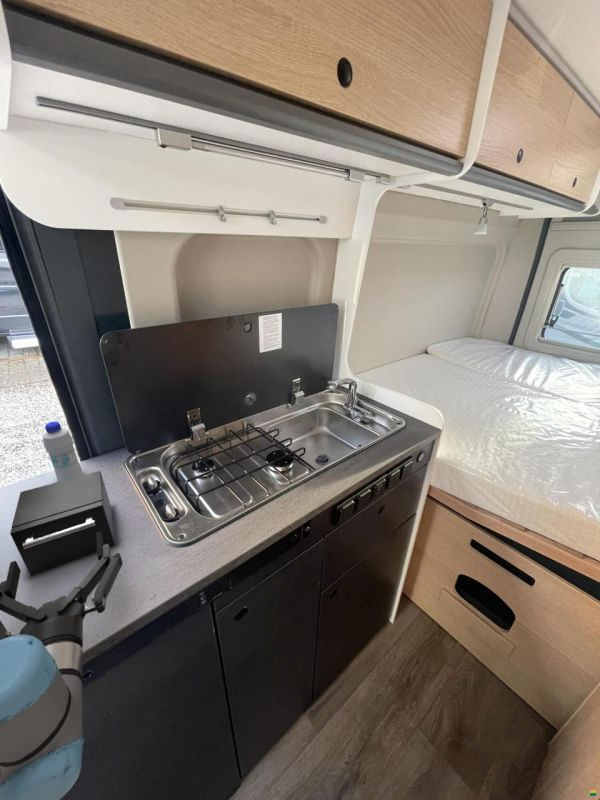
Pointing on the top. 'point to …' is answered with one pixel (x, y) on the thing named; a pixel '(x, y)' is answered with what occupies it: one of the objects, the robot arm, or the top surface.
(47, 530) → the oven door
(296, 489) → the top surface
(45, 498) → the oven
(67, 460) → the bottle
